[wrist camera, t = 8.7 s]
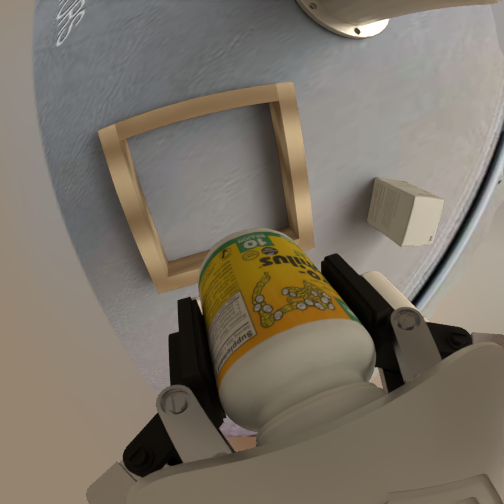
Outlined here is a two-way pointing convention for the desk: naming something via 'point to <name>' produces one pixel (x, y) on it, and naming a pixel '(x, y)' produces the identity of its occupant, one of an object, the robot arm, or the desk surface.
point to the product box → (404, 212)
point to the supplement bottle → (281, 338)
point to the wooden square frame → (116, 135)
